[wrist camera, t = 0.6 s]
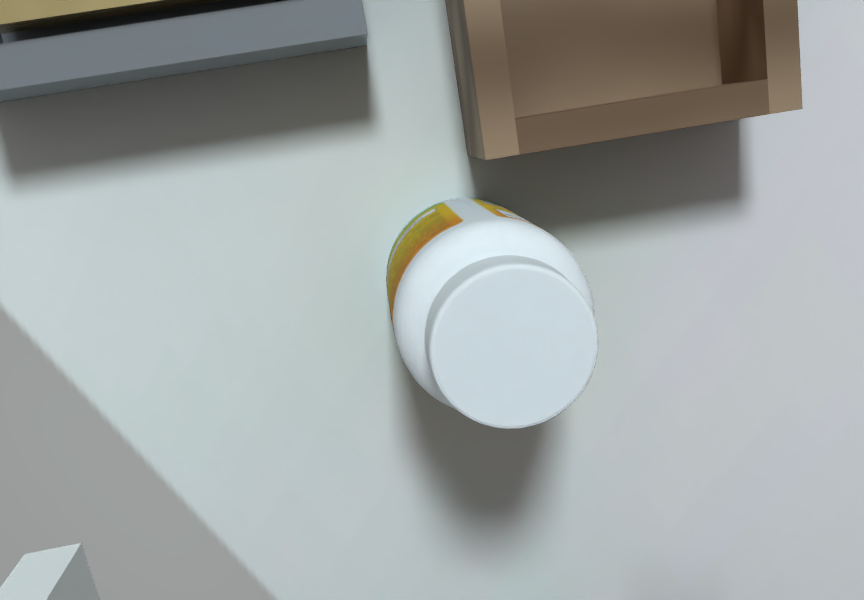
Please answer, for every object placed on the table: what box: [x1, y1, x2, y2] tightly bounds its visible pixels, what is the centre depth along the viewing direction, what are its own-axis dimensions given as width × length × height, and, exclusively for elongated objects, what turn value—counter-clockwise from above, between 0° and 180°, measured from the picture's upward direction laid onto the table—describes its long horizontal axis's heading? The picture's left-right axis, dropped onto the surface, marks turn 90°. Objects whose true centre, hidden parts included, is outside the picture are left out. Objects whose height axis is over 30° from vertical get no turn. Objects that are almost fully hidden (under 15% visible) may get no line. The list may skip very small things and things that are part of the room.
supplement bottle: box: [386, 198, 598, 429], centre depth 23 cm, size 5×5×10 cm
